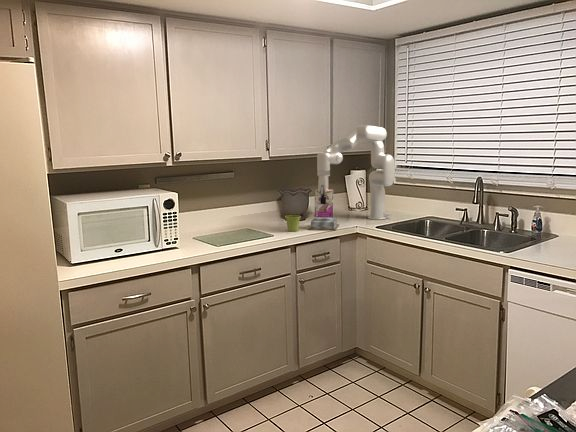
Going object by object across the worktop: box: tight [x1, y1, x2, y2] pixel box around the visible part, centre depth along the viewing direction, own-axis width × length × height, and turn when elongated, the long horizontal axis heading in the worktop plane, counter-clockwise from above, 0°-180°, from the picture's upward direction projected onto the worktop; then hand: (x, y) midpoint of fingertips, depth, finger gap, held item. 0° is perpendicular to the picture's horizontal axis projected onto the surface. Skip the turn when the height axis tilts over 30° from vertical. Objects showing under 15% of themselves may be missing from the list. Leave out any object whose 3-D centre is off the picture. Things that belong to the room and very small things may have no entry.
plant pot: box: [284, 214, 302, 232], centre depth 289 cm, size 9×9×9 cm
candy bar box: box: [314, 189, 334, 218], centre depth 294 cm, size 11×5×16 cm, turn 84°
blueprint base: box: [308, 217, 340, 231], centre depth 296 cm, size 16×16×5 cm
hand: (324, 202), depth 294 cm, fingers closed on candy bar box, 5 cm apart
